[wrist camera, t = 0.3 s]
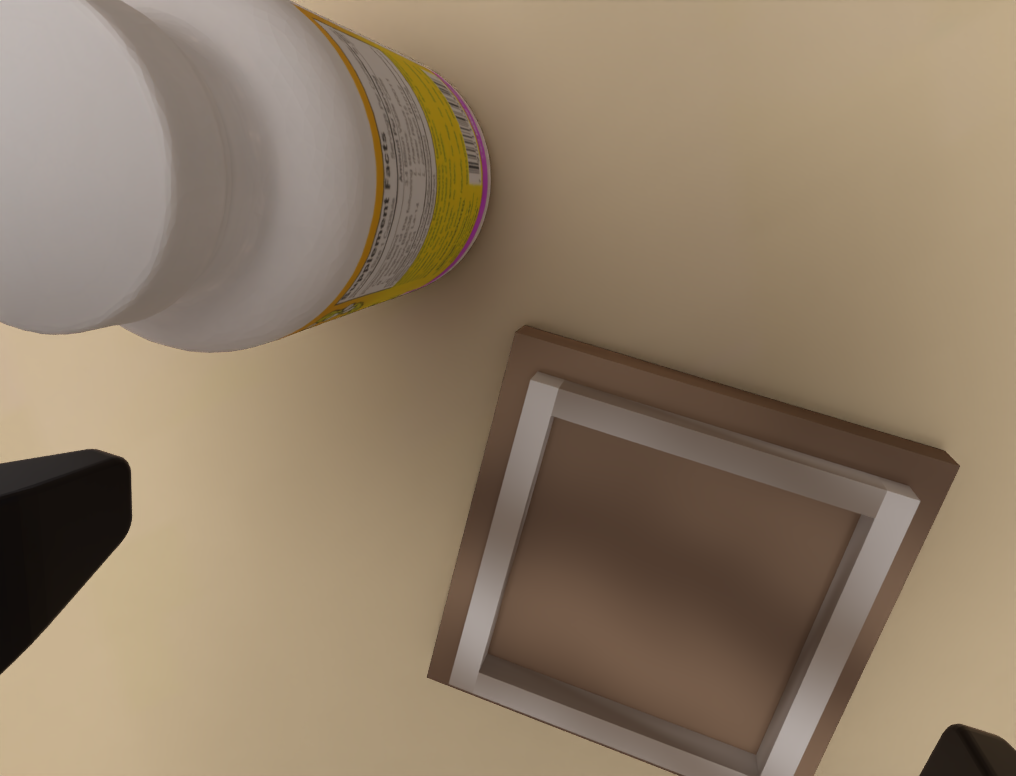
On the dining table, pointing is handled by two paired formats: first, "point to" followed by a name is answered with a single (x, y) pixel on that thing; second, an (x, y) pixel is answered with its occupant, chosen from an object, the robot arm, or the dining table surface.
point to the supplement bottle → (221, 170)
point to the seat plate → (678, 561)
